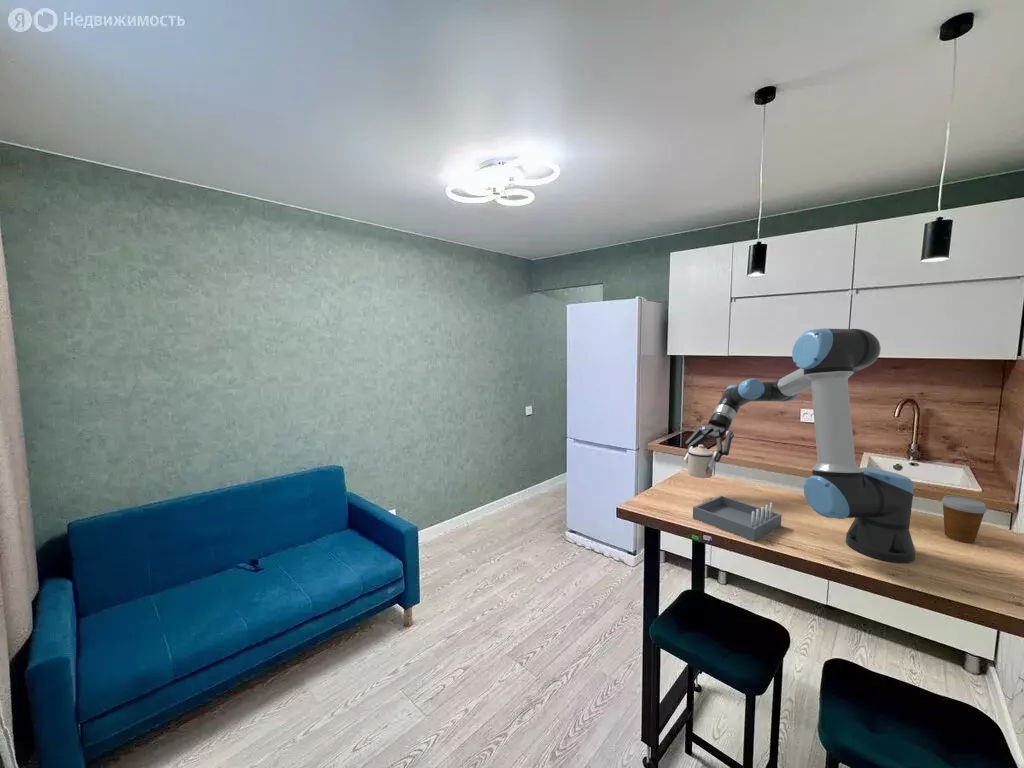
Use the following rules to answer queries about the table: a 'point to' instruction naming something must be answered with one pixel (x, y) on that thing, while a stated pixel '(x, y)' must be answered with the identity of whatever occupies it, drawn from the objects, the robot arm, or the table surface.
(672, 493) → the table surface
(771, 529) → the dish rack
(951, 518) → the disposable coffee cup
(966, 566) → the table surface
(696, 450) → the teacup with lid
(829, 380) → the robot arm
